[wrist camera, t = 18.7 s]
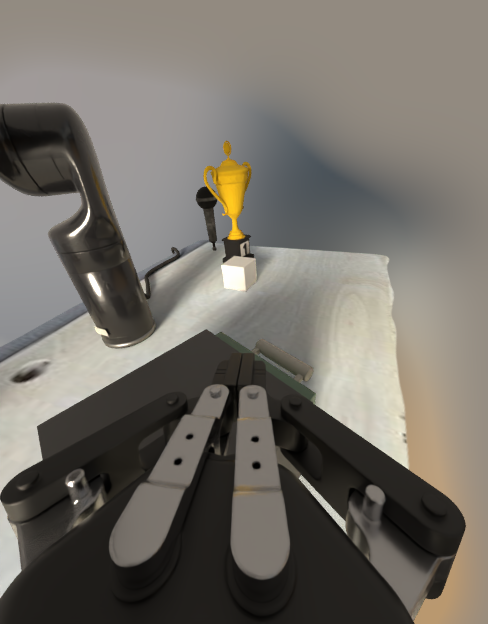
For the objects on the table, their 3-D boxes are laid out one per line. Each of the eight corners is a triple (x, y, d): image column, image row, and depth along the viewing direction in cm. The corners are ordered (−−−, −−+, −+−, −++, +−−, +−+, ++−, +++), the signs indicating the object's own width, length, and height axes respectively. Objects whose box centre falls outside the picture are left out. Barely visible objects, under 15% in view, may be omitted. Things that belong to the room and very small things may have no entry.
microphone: (217, 246, 87) (208, 185, 76) (228, 249, 82) (220, 185, 71) (201, 250, 83) (189, 188, 72) (211, 255, 79) (200, 188, 68)
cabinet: (219, 391, 32) (206, 329, 26) (304, 469, 23) (313, 402, 17) (97, 486, 23) (36, 426, 17) (158, 668, 14) (77, 667, 9)
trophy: (232, 276, 63) (215, 138, 47) (205, 270, 68) (182, 143, 52) (268, 253, 76) (264, 138, 59) (243, 249, 81) (234, 142, 64)
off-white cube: (236, 277, 62) (234, 255, 59) (257, 281, 59) (255, 258, 56) (224, 287, 57) (221, 264, 54) (245, 291, 55) (243, 267, 52)
